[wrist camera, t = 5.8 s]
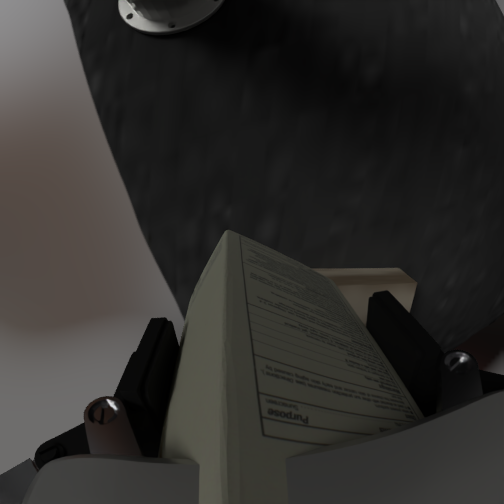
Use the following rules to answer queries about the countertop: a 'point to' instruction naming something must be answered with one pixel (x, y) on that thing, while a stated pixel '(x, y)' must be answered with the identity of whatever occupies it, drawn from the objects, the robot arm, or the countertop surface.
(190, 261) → the countertop surface
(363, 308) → the birch block
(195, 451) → the skincare box
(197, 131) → the countertop surface
